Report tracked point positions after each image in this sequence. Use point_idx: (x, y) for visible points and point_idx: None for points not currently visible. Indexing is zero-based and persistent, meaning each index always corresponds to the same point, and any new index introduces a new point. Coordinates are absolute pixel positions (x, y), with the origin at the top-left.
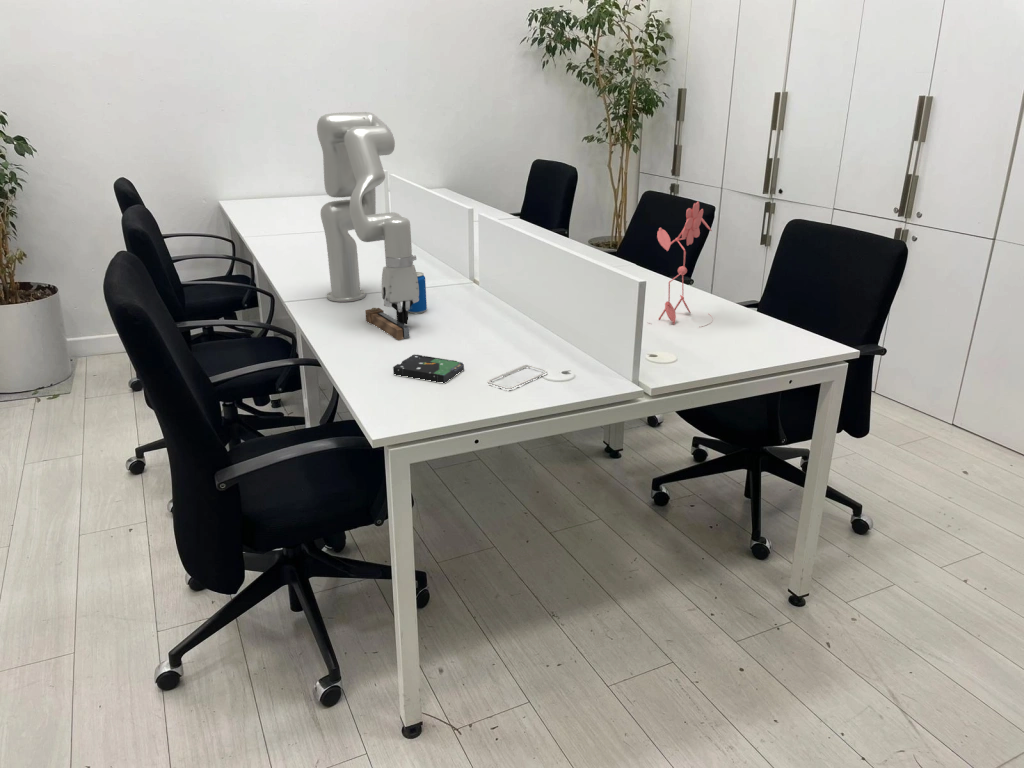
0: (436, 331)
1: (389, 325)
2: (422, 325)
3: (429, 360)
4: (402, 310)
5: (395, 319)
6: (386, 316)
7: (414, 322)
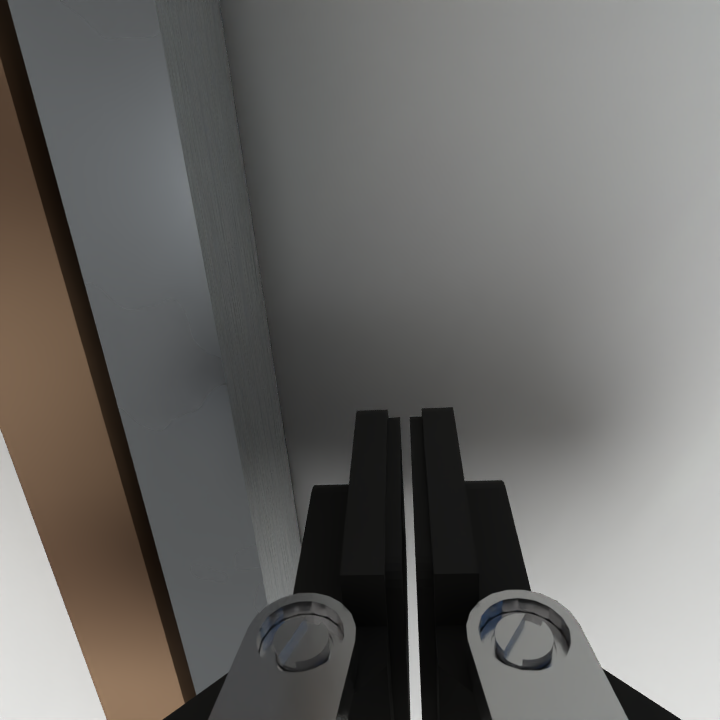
0: (701, 704)
1: (103, 703)
2: (713, 450)
3: None
4: (430, 652)
5: (258, 565)
6: (141, 330)
7: (708, 255)
